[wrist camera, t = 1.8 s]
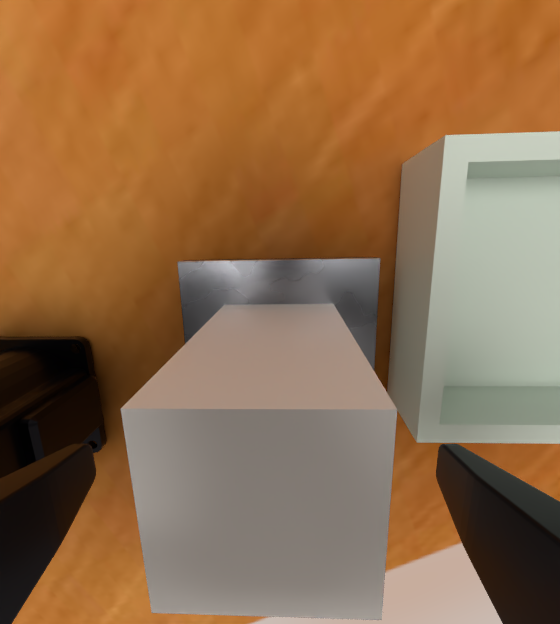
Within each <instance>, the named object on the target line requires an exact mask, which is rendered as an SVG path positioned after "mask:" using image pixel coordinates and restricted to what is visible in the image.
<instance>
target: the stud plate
mask: <svg viewBox="0 0 560 624" xmlns="http://www.w3.org/2000/svg"><path fill="white" fill-rule="evenodd" d="M379 272H380V258H377V257H342V258H284V259H225V260H183V261H179V262H178V273H179V284H180V294H181V305H182V315H183V326H184V336H185V344H186V343H187V342H188V341H189V340H190V339H191V338H192V337H193V336H194V335H195V334H196V333H197V332H198V331H199V330H200V329H201V328H202V327H203V326H204V325H205V324H206V323H207V322H208V321H209V320H210V319H211V318H212V317H213V316H214V315H215V314H216V313H217V312H218V311H219V310H220V309H221V308H222V307H223V306H224V305H256V304H334V306H335V307H336V309H337V311H338V312H339V314H340V316H341V317H342V319H343V321H344V322H345V324H346V326H347V327H348V329H349V330H350V332H351V334H352V335H353V337H354V339H355V340H356V342H357V344H358V345H359V347H360V349H361V350H362V352H363V354H364V355H365V357H366V359H367V360H368V362H369V364H370V365H371V367H372V369H373V370H374V364H375V346H376V327H377V309H378V291H379Z"/></svg>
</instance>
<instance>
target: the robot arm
mask: <svg viewBox="0 0 560 624" xmlns="http://www.w3.org/2000/svg"><path fill="white" fill-rule="evenodd" d="M76 344H77V345H78V346H79V347H80V350H78V349H77V348H76ZM93 441H95V442H96V443H97V444H95V443H94V442H93ZM105 444H106V437H105V431H104V425H103V414H102V408H101V402H100V396H99V390H98V384H97V380H96V378H95V372H94V366H93V360H92V355H91V349H90V345H89V342H88V341H87V340H86V339H85V338H83V337H0V624H12V622H13V621H14V619H15V617H16V616H17V614H18V613H19V611H20V609H21V608H22V606H23V605H24V603H25V601H26V600H27V598H28V597H29V595H30V593H31V592H32V590H33V589H34V587H35V585H36V584H37V582H38V581H39V579H40V577H41V576H42V574H43V573H44V571H45V569H46V568H47V566H48V565H49V563H50V561H51V560H52V558H53V557H54V555H55V553H56V552H57V550H58V548H59V547H60V545H61V543H62V541H63V539H64V538H65V536H66V534H67V532H68V530H69V528H70V526H71V524H72V523H73V521H74V519H75V517H76V515H77V513H78V511H79V509H80V507H81V505H82V503H83V501H84V499H85V497H86V495H87V493H88V491H89V489H90V488H91V486H92V484H93V482H94V479H95V475H96V468H95V462H94V457H93V453H95V452H98V451H100V450H101V449H102V448H103V447H104V445H105ZM436 477H437V481H438V484H439V487H440V489H441V492H442V494H443V497H444V499H445V502H446V504H447V507H448V509H449V512H450V514H451V517H452V519H453V522H454V524H455V527H456V529H457V532H458V534H459V536H460V539H461V541H462V543H463V546H464V548H465V550H466V552H467V554H468V556H469V558H470V560H471V562H472V564H473V566H474V568H475V570H476V572H477V574H478V576H479V578H480V580H481V582H482V584H483V586H484V588H485V590H486V592H487V594H488V596H489V598H490V599H491V601H492V603H493V605H494V607H495V609H496V611H497V613H498V615H499V617H500V619H501V621H502V623H503V624H560V502H559V501H558V500H556V499H554V498H552V497H550V496H549V495H547V494H545V493H543V492H542V491H540V490H538V489H536V488H534V487H533V486H531V485H529V484H527V483H526V482H524V481H522V480H520V479H519V478H517V477H515V476H513V475H511V474H510V473H508V472H506V471H504V470H503V469H501V468H499V467H497V466H495V465H494V464H492V463H490V462H488V461H487V460H485V459H483V458H481V457H480V456H478V455H476V454H474V453H472V452H471V451H469V450H467V449H465V448H464V447H462V446H460V445H458V444H442V445H440V447H439V450H438V459H437V468H436Z"/></svg>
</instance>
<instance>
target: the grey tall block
mask: <svg viewBox="0 0 560 624" xmlns="http://www.w3.org/2000/svg"><path fill="white" fill-rule="evenodd" d="M121 415H122V421H123V428H124V434H125V441H126V447H127V454H128V460H129V467H130V473H131V480H132V487H133V493H134V500H135V506H136V513H137V519H138V526H139V532H140V539H141V545H142V552H143V559H144V565H145V572H146V578H147V585H148V591H149V598H150V604H151V611H152V613H172V614H203V615H235V616H267V617H299V618H300V617H301V618H331V619H363V620H381V619H382V606H383V593H384V580H385V566H386V553H387V540H388V526H389V513H390V500H391V486H392V473H393V460H394V446H395V433H396V419H397V408H396V407H395V405H394V403H393V402H392V400H391V398H390V397H389V395H388V393H387V392H386V390H385V388H384V387H383V385H382V383H381V382H380V380H379V379H378V377H377V375H376V374H375V372H374V370H373V369H372V367H371V365H370V364H369V362H368V360H367V359H366V357H365V355H364V354H363V352H362V350H361V349H360V347H359V345H358V344H357V342H356V340H355V339H354V337H353V335H352V334H351V332H350V330H349V329H348V327H347V326H346V324H345V322H344V321H343V319H342V317H341V316H340V314H339V312H338V311H337V309H336V307H335V306H334V304H256V305H224V306H223V307H222V308H221V309H220V310H219V311H218V312H217V313H216V314H215V315H214V316H213V317H212V318H211V319H210V320H209V321H208V322H207V323H206V324H205V325H204V326H203V327H202V328H201V329H200V330H199V331H198V332H197V333H196V334H195V335H194V336H193V337H192V338H191V339H190V340H189V341H188V342H187V343H186V344H185V345H184V346H183V347H182V348H181V349H180V350H179V351H178V352H177V353H176V354H175V355H174V356H173V357H172V358H171V359H170V360H169V361H168V362H167V363H166V364H165V365H164V366H163V367H162V368H161V369H160V370H159V371H158V372H157V373H156V374H155V375H154V376H153V377H152V378H151V379H150V380H149V381H148V382H147V383H146V384H145V385H144V386H143V387H142V388H141V389H140V390H139V391H138V392H137V393H136V394H135V395H134V396H133V397H132V398H131V399H130V400H129V401H128V402H127V403H126V404H125V405H124V406H123V407H122V408H121Z"/></svg>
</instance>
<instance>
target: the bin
mask: <svg viewBox="0 0 560 624" xmlns="http://www.w3.org/2000/svg"><path fill="white" fill-rule="evenodd" d="M387 393H388V395H389V397H390V398H391V400H392V402H393V403H394V405H395V407H396V408H397V411H398V412H399V414H400V416H401V417H402V419H403V421H404V422H405V424H406V425H407V427H408V429H409V430H410V432H411V434H412V435H413V437H414V439H415V440H416V442H422V443H551V444H560V131H559V132H529V133H498V134H468V135H445V136H444V137H442V138H441V139H439V140H438V141H436V142H434V143H433V144H431V145H430V146H428V147H427V148H425V149H424V150H422V151H421V152H419V153H418V154H416V155H415V156H413V157H412V158H410V159H409V160H407V161H406V162H404V163H403V164H402V175H401V190H400V205H399V221H398V236H397V251H396V266H395V282H394V297H393V312H392V327H391V342H390V358H389V373H388V388H387Z"/></svg>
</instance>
